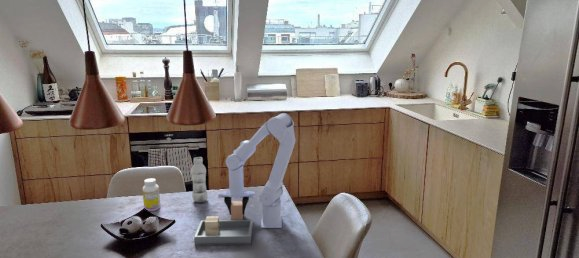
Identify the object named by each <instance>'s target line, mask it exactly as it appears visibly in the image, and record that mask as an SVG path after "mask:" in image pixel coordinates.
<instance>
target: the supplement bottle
mask: <svg viewBox="0 0 579 258" xmlns="http://www.w3.org/2000/svg"><path fill="white" fill-rule="evenodd" d="M143 181H144V182H143V183H144V185H143V186H142V199H143V208H146V209H147V210H148V211H147V212H154V211H157V210H159V209H160V208H161V196H160V186H159V185H158V184H157V179H156V178H154V177H153V178H152V177H150V178H146V179H144V180H143Z"/></svg>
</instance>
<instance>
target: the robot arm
mask: <svg viewBox="0 0 579 258" xmlns="http://www.w3.org/2000/svg"><path fill="white" fill-rule="evenodd" d="M294 126H295V123H294V120H293V118H292V117H291V116H290V115H289V114H288V113H285V112H283V113H279V114H277V116H273V117H271V118H269V119H268V120H267V121H266V122H264V123H263V124H262V125H261V127H260V128H259V129H258V130H257V131H256V132H255V133H254V135H253V136H252V137H251V138H250V139H249V140H247V139H246V140H243V141H241V142H240V143H239V146H238V147H237V148H236V149H234V150H233V151H232V152H233V153H232V154H229V155H228V156H227V157H226V158H225V165H226V167H227V168H228V187H229V188H228V190H227V191H218V194H217V197H218V199H224V200H223V201H224V204H225V205H226V207H227V209H228V212H229V215H230V216H231V203H232V198H233V199H239V198H242V204H243V212H242V213H243V216H245V212H246V211H245V210H246V207H247V204H248V203H249V199H250V198H252V199H255V198H256V193H255V191H250V190H248V191H247V190H245V189H244V188H245V187H244V186H245V185H244V165H245V163H246V161H247V160H248V159H249V158H250V157H251V156H252V155H253V154H255V153H256V151H257V146H258V144H260V143H261V141H263V140H264V139H265V138H266V137H267V136H270V135H272V136H273V137H274V138H275V139H276V140H277V141H278V142H279V147H278V149H277V153H276V155H275V159H274V162H273V165H272V169H271V172H270V174H269V178H268V180H267V182H266V183H265V185H264V187H263V189H262V190H261V192H259V195H258V199H259V202H260V203H261V222H260V223H261V224H260V228H261V229H282V223H283V222H282V217H283V216H282V215H281V214H282V213H281V210H282V207H281V206H282V205H281V202H282V201H281V197H282V196H283V194H284V193H283V192H284V189H283V188H284V182H283V180H284V177H285V174H286V172H287V169H288V165H289V162H290V160H291V157H292V153H293V151H294V147H295V145H296V134H295V129H294Z"/></svg>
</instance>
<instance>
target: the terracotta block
mask: <svg viewBox="0 0 579 258" xmlns="http://www.w3.org/2000/svg"><path fill="white" fill-rule="evenodd" d="M242 212H243V204H242V201H241V200H235V201H233V200H231V215H230V220H244V215H243V213H242Z"/></svg>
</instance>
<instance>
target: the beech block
mask: <svg viewBox="0 0 579 258" xmlns="http://www.w3.org/2000/svg"><path fill="white" fill-rule="evenodd" d="M204 220H205V236H217V235H219V231H220V230H219V220H220V216H217V215H215V216H212V215H211V216H207V215H206V218H205V219H204Z"/></svg>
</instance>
